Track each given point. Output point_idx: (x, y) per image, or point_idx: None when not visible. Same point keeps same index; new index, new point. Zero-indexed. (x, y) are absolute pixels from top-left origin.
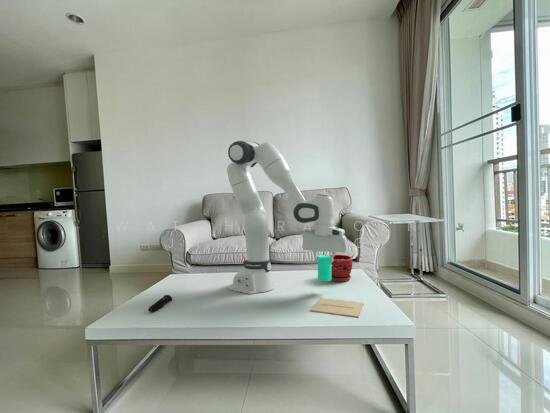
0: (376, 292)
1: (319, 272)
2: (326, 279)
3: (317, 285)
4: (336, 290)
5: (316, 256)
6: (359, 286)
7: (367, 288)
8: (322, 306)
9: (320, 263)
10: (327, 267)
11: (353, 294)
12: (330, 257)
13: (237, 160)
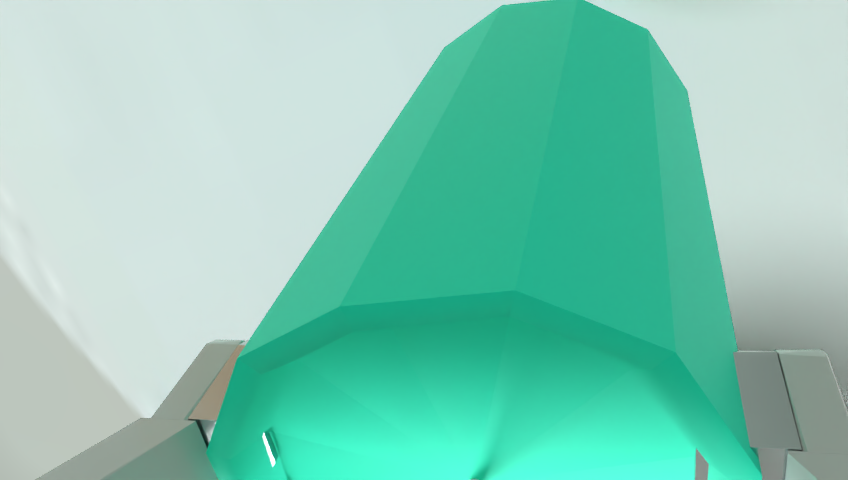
0: (50, 280)
1: (623, 76)
2: (462, 37)
3: (776, 320)
4: None
5: (824, 463)
6: None
7: (179, 367)
8: None
9: (570, 174)
10: (373, 164)
11: (207, 138)
12: (222, 451)
13: None
